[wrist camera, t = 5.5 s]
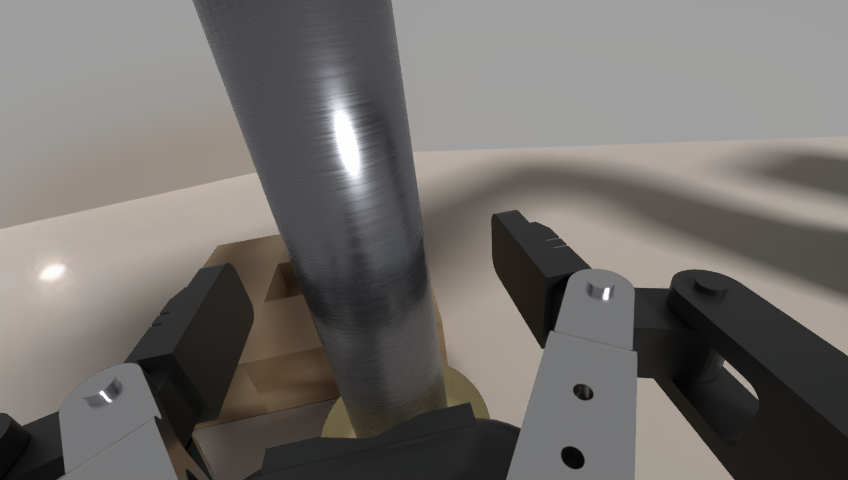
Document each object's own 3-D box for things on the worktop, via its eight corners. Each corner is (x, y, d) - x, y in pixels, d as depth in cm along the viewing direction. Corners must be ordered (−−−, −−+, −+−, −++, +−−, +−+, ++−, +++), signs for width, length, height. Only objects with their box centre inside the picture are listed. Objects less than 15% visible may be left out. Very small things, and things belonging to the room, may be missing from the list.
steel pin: (471, 419, 18) (424, -127, 8) (518, 572, 13) (554, -462, 3) (353, 446, 17) (139, -98, 7) (351, 617, 12) (-388, -440, 2)
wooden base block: (414, 250, 32) (408, 211, 30) (448, 372, 20) (442, 321, 18) (236, 284, 31) (217, 245, 29) (160, 436, 19) (119, 389, 17)
